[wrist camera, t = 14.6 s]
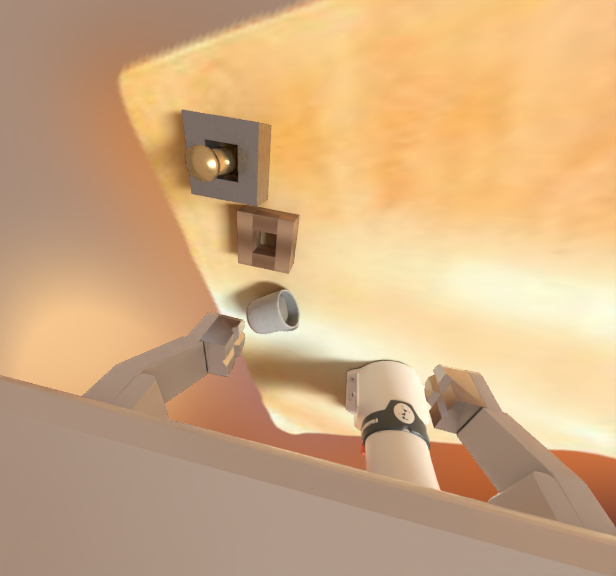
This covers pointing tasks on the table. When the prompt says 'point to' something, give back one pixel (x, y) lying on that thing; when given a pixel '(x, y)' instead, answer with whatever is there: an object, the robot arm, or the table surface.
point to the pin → (210, 162)
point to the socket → (251, 156)
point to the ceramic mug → (273, 313)
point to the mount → (271, 222)
